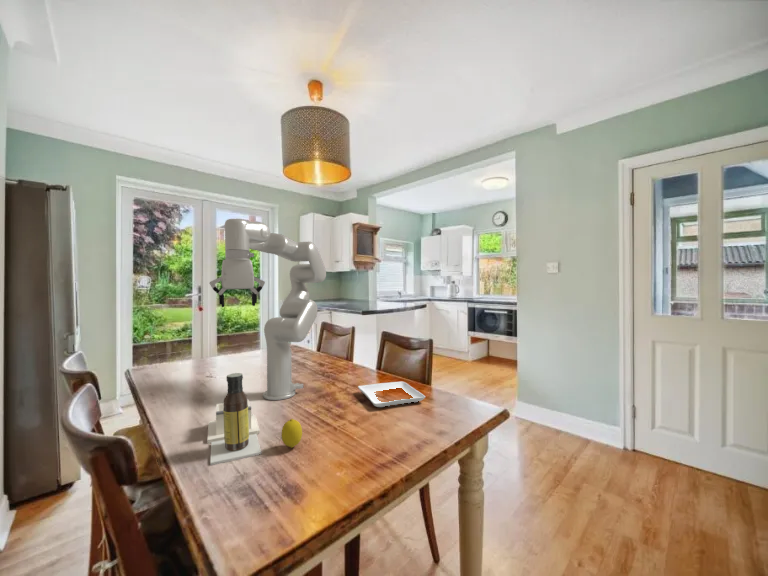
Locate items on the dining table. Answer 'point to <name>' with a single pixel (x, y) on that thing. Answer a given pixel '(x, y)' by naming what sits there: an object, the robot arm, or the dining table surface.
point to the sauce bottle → (235, 414)
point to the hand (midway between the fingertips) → (238, 306)
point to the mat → (224, 455)
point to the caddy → (218, 425)
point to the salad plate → (370, 389)
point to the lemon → (291, 433)
